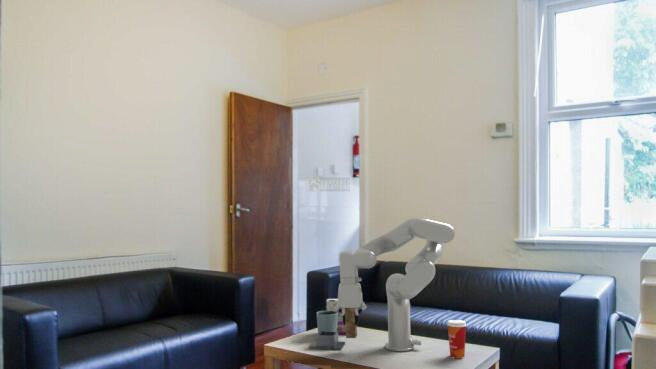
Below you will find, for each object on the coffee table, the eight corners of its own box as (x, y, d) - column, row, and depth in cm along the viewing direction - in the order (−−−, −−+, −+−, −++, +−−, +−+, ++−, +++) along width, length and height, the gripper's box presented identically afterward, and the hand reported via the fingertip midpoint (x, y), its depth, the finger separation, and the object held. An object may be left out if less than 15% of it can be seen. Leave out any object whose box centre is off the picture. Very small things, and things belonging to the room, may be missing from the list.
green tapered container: (314, 340, 227) (313, 314, 228) (319, 335, 237) (319, 309, 238) (335, 341, 225) (335, 315, 226) (340, 336, 235) (340, 310, 235)
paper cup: (445, 353, 205) (445, 319, 206) (464, 353, 205) (463, 319, 206) (449, 359, 198) (449, 323, 198) (469, 359, 197) (468, 323, 198)
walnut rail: (357, 335, 212) (355, 302, 212) (355, 338, 208) (354, 304, 208) (347, 335, 212) (346, 302, 213) (346, 337, 209) (344, 304, 209)
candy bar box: (350, 332, 242) (350, 298, 243) (349, 335, 237) (348, 300, 238) (327, 331, 244) (327, 297, 244) (326, 334, 239) (325, 299, 239)
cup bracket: (345, 344, 221) (345, 331, 221) (340, 350, 211) (340, 337, 212) (314, 342, 224) (314, 330, 225) (308, 348, 215) (308, 335, 215)
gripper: (370, 279, 213) (372, 322, 212) (332, 279, 217) (333, 322, 216) (367, 282, 205) (369, 326, 205) (328, 282, 209) (329, 326, 208)
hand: (351, 323), depth 210 cm, fingers closed on walnut rail, 4 cm apart
